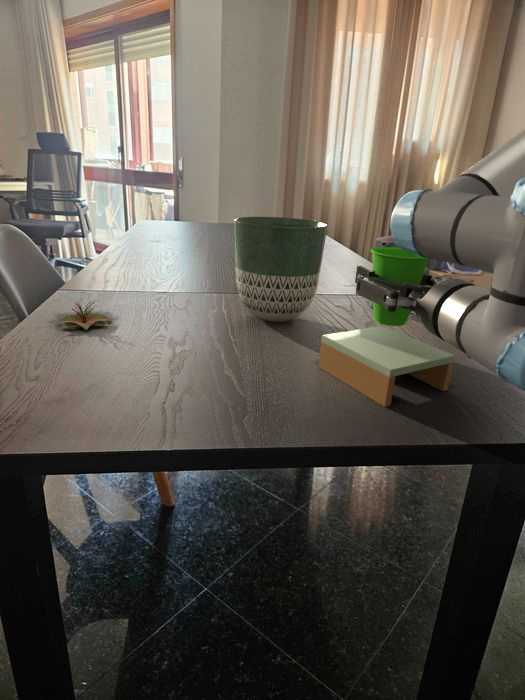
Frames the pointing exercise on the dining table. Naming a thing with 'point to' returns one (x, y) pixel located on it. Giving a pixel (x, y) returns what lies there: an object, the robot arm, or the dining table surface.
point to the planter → (278, 264)
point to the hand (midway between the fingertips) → (383, 274)
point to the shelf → (382, 361)
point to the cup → (396, 278)
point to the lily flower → (83, 318)
